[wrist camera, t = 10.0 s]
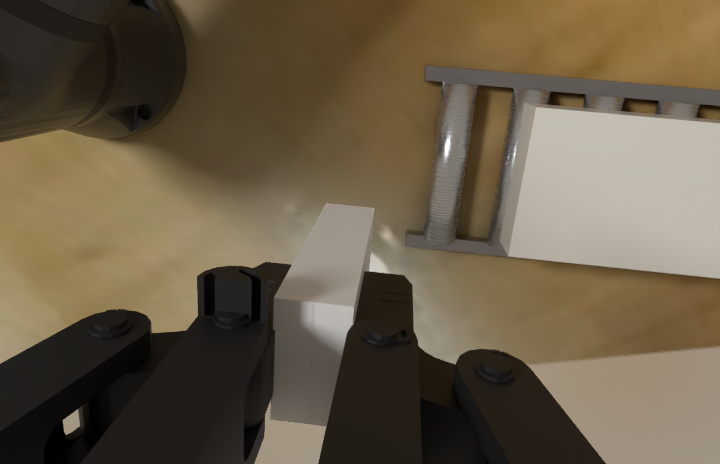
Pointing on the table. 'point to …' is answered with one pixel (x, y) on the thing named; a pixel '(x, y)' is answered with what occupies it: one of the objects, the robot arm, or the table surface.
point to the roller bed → (513, 140)
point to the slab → (615, 190)
